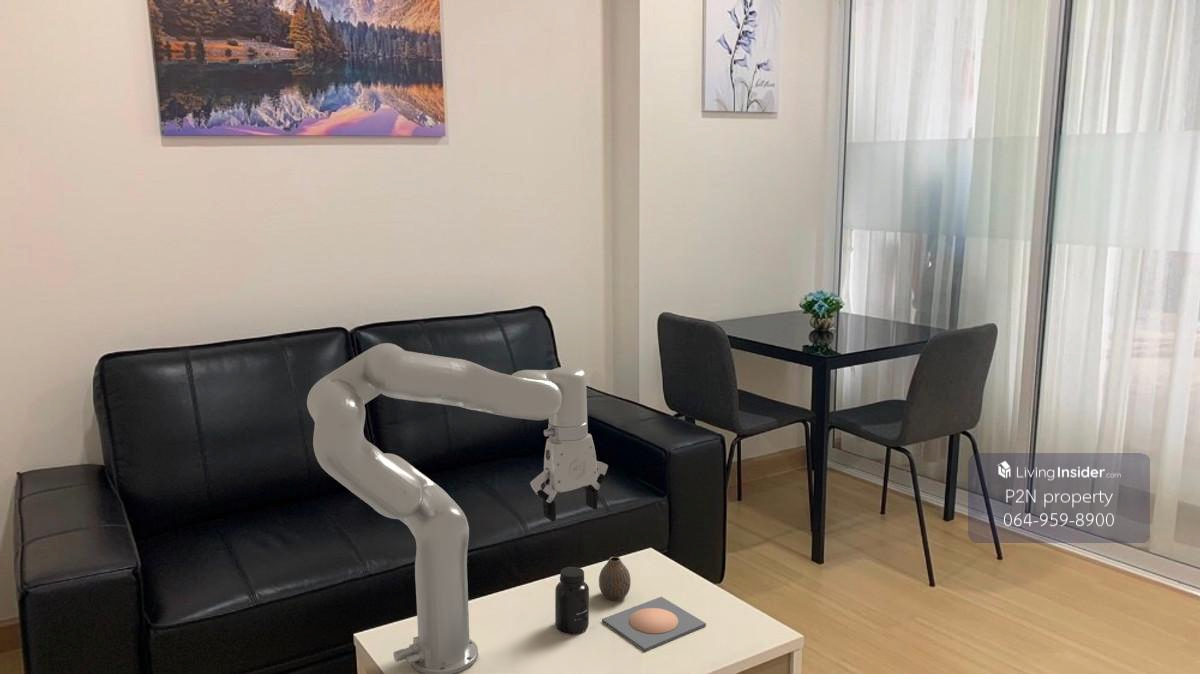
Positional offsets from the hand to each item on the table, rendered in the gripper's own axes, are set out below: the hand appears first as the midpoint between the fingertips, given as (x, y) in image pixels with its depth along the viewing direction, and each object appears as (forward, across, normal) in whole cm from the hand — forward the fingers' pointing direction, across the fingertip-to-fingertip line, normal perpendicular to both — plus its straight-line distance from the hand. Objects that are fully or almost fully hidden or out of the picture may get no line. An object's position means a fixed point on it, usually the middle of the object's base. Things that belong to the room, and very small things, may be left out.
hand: (571, 513), depth 170 cm
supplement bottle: (+24, -1, 0) cm, 24 cm away
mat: (+25, +13, -9) cm, 29 cm away
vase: (+25, +13, +5) cm, 29 cm away
